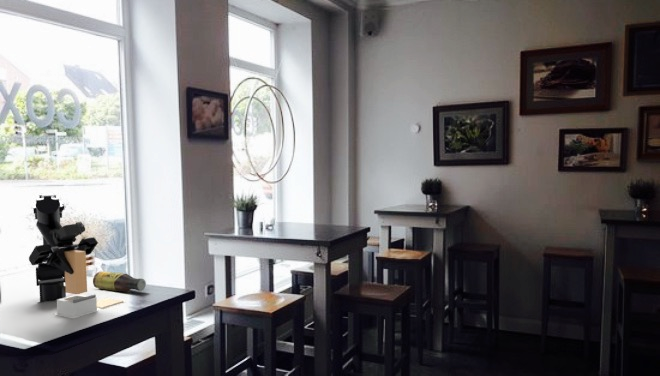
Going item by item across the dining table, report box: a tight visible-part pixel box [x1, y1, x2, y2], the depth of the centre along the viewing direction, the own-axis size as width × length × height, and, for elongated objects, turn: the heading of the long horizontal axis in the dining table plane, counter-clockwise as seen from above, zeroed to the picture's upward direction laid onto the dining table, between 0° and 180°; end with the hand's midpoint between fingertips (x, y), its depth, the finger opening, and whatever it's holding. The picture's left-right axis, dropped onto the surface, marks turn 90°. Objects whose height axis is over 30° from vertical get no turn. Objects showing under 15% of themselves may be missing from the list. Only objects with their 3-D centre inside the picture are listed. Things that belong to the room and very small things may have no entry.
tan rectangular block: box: [64, 250, 88, 295], centre depth 144 cm, size 5×3×12 cm
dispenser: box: [53, 293, 126, 319], centre depth 149 cm, size 9×18×6 cm, turn 152°
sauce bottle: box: [92, 271, 147, 293], centre depth 172 cm, size 6×6×20 cm
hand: (78, 272), depth 143 cm, fingers closed on tan rectangular block, 3 cm apart
